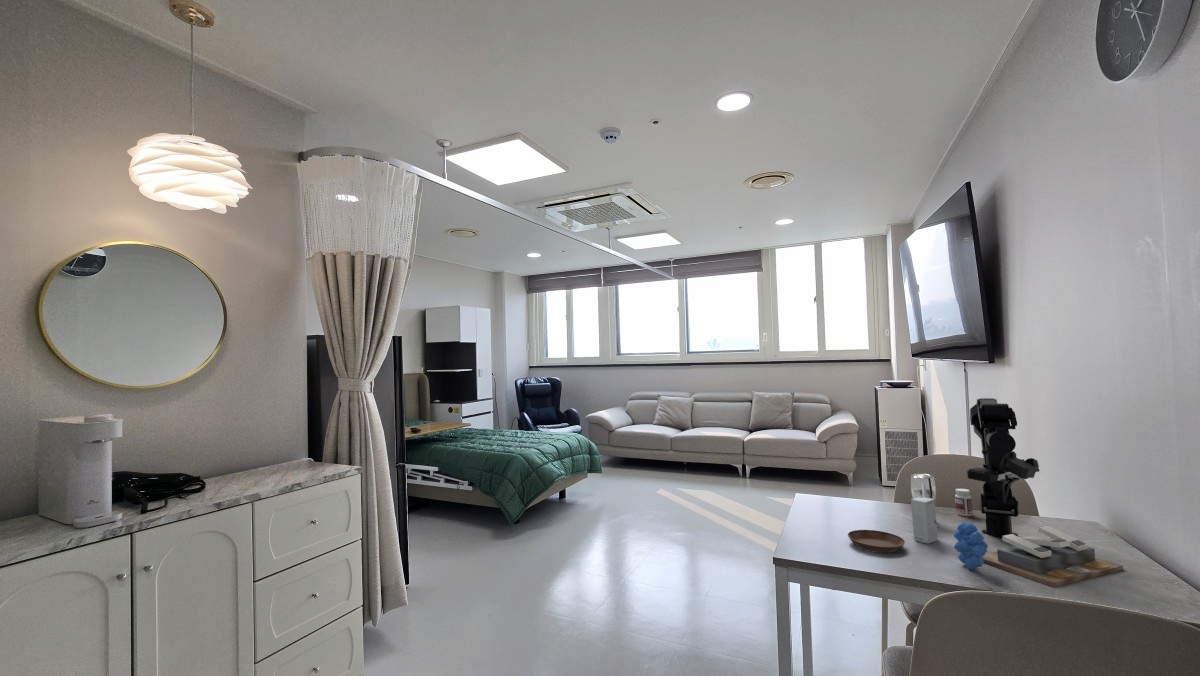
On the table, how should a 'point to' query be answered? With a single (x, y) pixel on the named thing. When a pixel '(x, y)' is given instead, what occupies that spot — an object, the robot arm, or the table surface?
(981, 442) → the robot arm
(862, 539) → the saucer
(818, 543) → the table surface
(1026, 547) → the rocker
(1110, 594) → the table surface
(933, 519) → the skincare box
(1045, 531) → the rocker
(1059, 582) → the switch panel
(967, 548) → the grapes
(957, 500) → the pill bottle
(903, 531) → the table surface
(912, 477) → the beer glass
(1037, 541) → the rocker middle
